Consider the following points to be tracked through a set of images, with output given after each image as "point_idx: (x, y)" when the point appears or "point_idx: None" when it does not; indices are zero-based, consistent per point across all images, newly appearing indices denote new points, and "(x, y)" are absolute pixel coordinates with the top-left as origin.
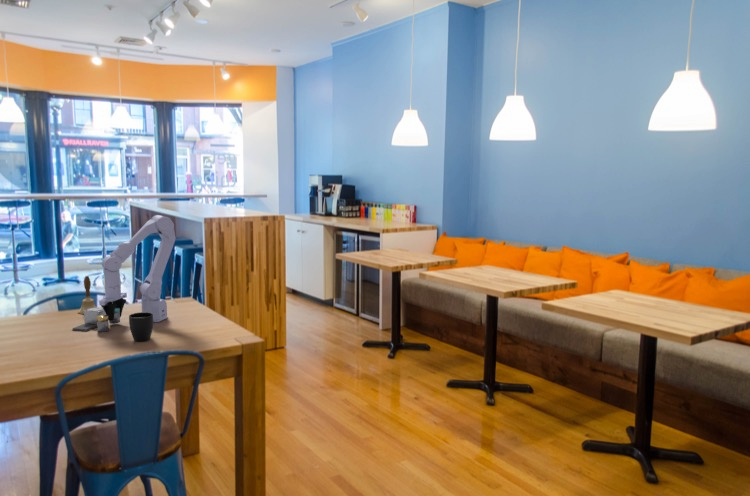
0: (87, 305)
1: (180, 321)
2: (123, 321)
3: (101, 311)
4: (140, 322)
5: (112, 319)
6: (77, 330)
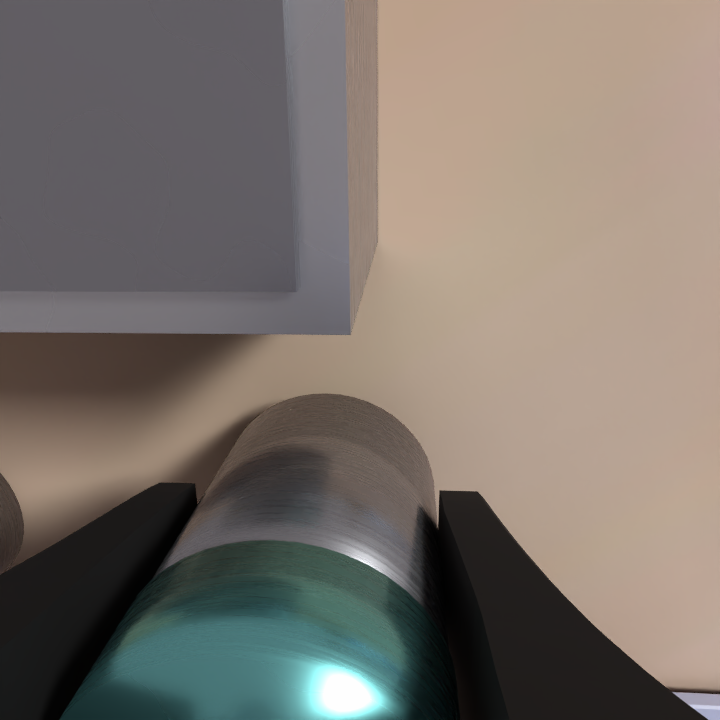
0: None
1: None
2: (583, 483)
3: (80, 323)
4: None
5: None
6: None
